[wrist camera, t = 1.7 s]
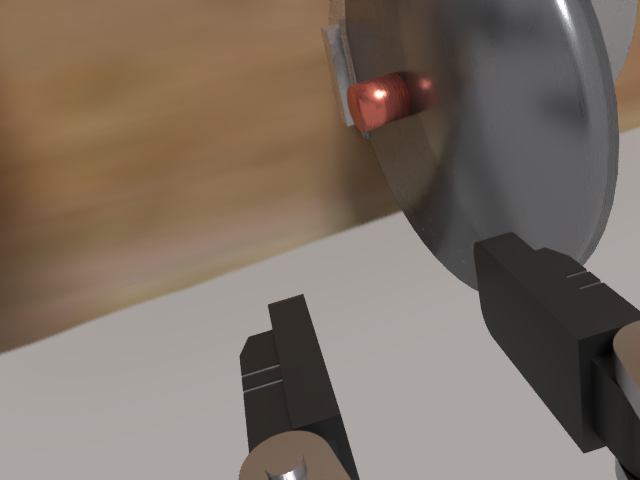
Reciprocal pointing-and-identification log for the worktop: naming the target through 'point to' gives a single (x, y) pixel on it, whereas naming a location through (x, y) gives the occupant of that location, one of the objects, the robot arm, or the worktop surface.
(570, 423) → the robot arm
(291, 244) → the worktop surface
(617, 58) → the cooker pot
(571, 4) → the lid
